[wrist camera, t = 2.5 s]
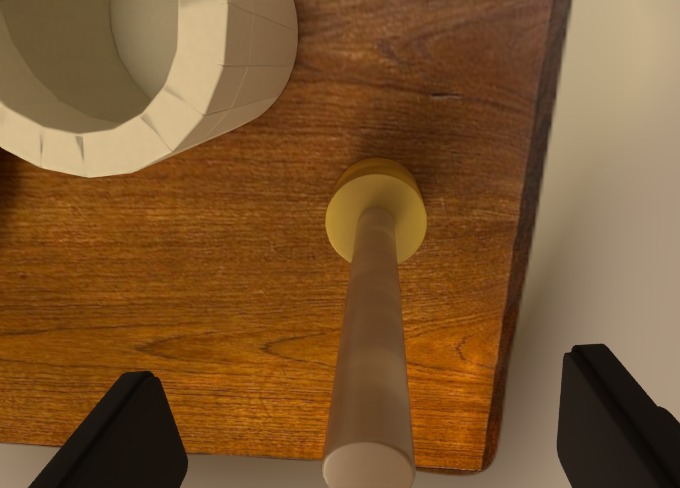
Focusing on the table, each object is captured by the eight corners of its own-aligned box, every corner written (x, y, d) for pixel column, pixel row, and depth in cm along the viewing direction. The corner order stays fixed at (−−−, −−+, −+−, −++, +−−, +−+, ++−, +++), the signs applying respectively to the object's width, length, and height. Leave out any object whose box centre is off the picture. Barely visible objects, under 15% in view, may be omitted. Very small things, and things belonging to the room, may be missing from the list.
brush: (417, 152, 23) (507, 361, 7) (422, 236, 25) (502, 561, 9) (327, 162, 24) (210, 375, 7) (339, 244, 26) (266, 559, 9)
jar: (278, -108, 19) (168, -296, 9) (312, 118, 23) (259, 158, 13) (79, -68, 21) (-206, -195, 11) (141, 139, 24) (-26, 191, 14)
